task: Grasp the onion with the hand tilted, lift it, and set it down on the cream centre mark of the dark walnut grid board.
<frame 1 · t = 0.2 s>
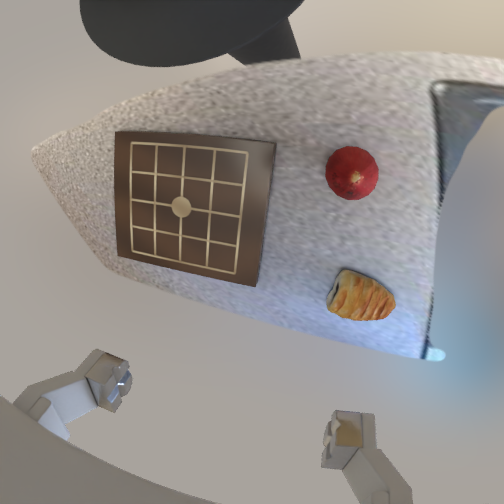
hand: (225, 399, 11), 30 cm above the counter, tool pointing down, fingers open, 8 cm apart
onion: (348, 168, 35), on the counter
pastry: (358, 291, 41), on the counter
grid board: (186, 203, 41), on the counter
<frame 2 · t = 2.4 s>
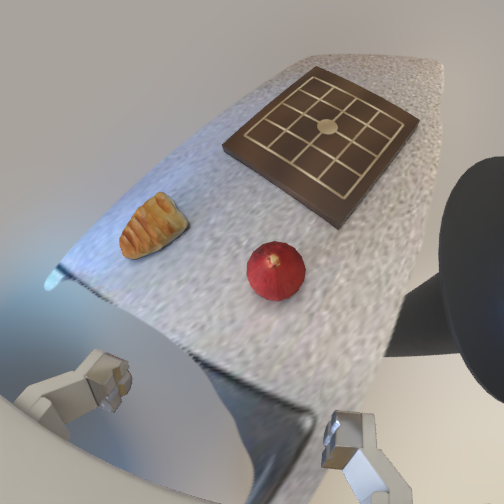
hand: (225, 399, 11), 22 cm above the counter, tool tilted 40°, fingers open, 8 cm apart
onion: (278, 280, 35), on the counter
pastry: (159, 230, 39), on the counter
grid board: (327, 134, 40), on the counter
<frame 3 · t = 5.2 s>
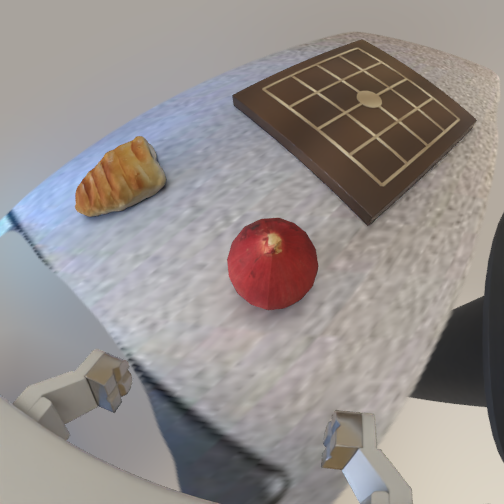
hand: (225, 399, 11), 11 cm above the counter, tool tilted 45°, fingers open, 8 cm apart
onion: (273, 280, 24), on the counter
pastry: (128, 186, 28), on the counter
grid board: (366, 109, 29), on the counter
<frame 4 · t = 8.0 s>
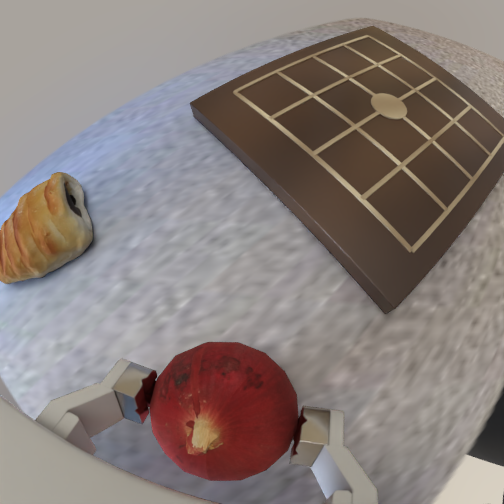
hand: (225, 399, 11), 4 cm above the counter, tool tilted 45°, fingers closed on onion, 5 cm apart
onion: (236, 401, 15), on the counter, touching gripper
pastry: (52, 240, 19), on the counter
grid board: (384, 120, 20), on the counter
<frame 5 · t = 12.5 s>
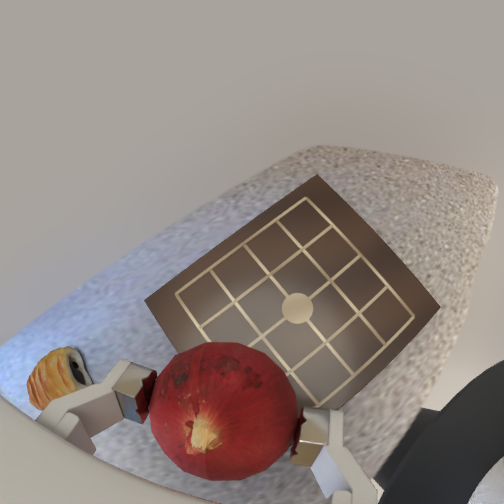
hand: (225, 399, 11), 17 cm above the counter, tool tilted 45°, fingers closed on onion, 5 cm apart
onion: (236, 401, 15), point 13 cm above the counter, touching gripper
pastry: (67, 383, 27), on the counter
grid board: (296, 311, 29), on the counter
when the fingers open (6 cm above the counter, at t = 17.3 s): onion stays where it is, resting on grid board.
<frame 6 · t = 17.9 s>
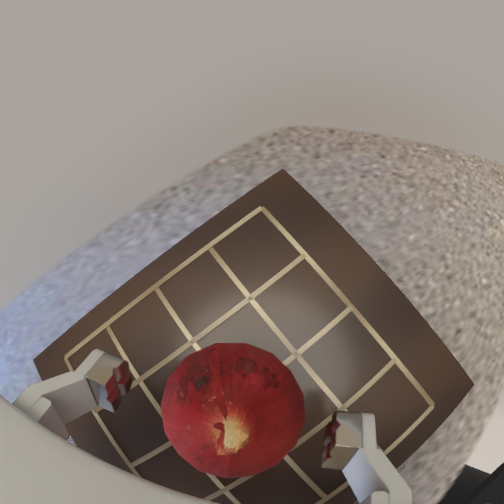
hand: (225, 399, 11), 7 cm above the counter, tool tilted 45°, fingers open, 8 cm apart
onion: (234, 399, 15), point 2 cm above the counter, touching grid board
grid board: (240, 396, 17), on the counter
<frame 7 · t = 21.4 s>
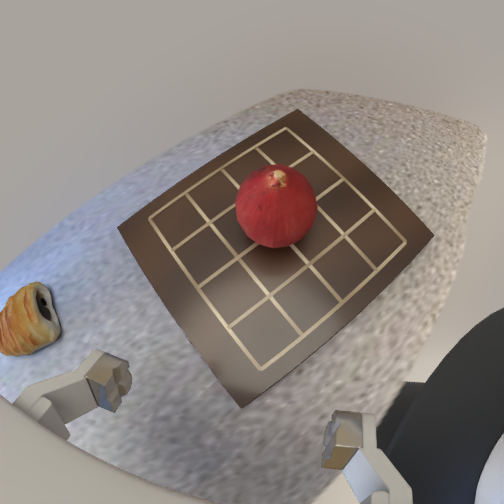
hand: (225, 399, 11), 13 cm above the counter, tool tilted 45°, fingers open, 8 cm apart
onion: (275, 229, 26), point 1 cm above the counter, touching grid board
pastry: (34, 326, 25), on the counter
grid board: (276, 236, 27), on the counter
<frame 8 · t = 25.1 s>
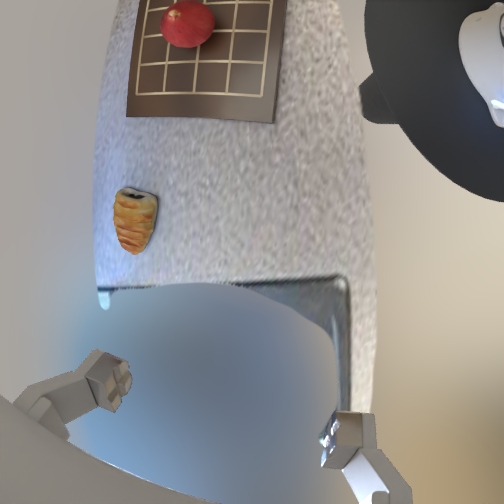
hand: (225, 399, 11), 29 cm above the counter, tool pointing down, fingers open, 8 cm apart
onion: (200, 32, 29), point 1 cm above the counter, touching grid board
pastry: (140, 215, 42), on the counter
grid board: (205, 34, 30), on the counter
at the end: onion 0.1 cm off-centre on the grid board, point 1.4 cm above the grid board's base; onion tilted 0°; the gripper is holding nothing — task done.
